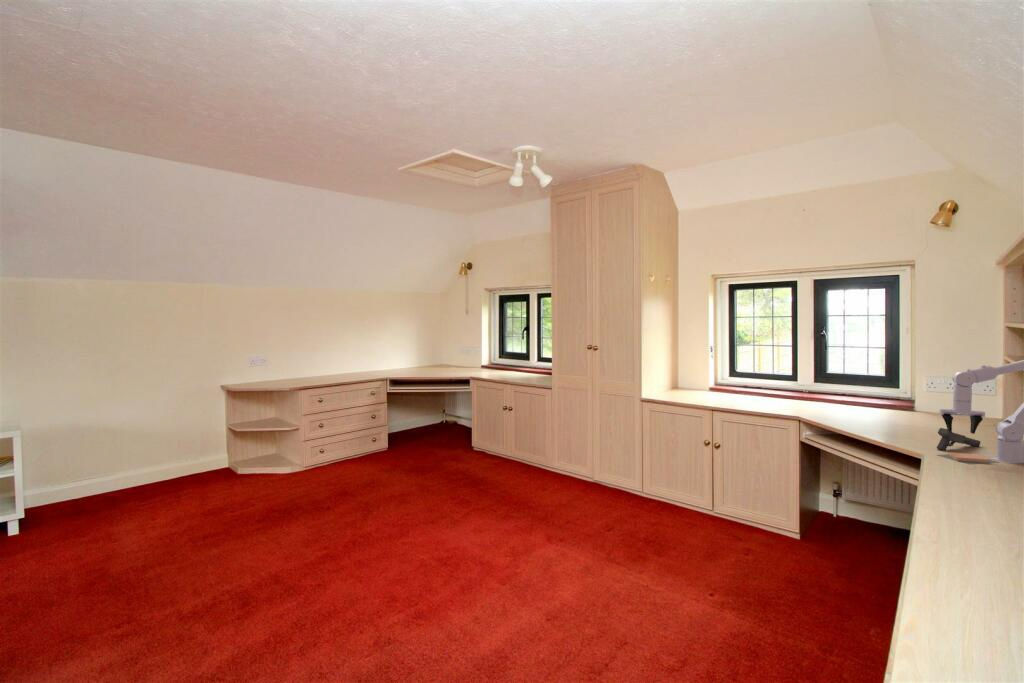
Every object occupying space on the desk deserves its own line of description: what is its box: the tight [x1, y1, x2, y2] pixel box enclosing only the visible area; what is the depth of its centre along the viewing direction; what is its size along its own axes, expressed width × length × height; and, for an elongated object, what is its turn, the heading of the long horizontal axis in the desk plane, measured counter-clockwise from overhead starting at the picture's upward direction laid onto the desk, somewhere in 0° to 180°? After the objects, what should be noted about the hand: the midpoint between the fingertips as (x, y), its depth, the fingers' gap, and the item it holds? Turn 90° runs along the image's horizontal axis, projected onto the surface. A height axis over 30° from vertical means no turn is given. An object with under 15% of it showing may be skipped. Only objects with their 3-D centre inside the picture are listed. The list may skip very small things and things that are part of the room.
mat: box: [936, 453, 1001, 465], centre depth 209 cm, size 14×14×1 cm
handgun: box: [936, 427, 981, 451], centre depth 226 cm, size 4×24×10 cm, turn 107°
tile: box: [948, 452, 989, 464], centre depth 208 cm, size 2×10×8 cm
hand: (960, 432), depth 213 cm, fingers open, 7 cm apart
